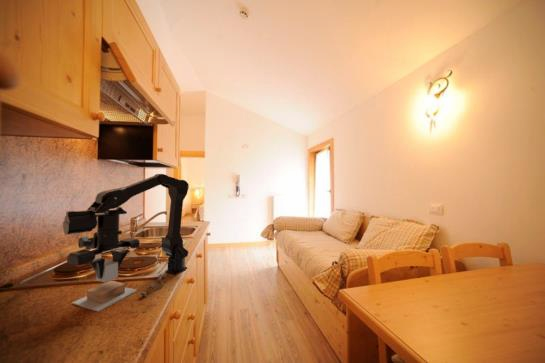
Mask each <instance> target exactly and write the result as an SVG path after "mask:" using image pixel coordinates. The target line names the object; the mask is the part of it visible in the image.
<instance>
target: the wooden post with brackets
mask: <svg viewBox="0 0 545 363" xmlns="http://www.w3.org/2000/svg"><path fill="white" fill-rule="evenodd" d="M162 279H163V275H162V274H160V275H158V276H156V278H155V279H154V281H152V282H151V284H150V285H149V287H148V288H146V289H145V290H144V291H141V292H140V294H141V297H146V298H147V297H148V293H149V292H150V291H151V290H152V289H153V288H154V291H158V290H159V289H161V286H164V282H163V280H162ZM158 283H159V284H158ZM157 284H158V285H157ZM155 286H156V287H155Z"/></svg>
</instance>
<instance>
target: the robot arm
mask: <svg viewBox="0 0 545 363" xmlns="http://www.w3.org/2000/svg"><path fill="white" fill-rule="evenodd" d="M159 186H161V187H164V188H166V189H167V191H168V195H169V198H170V207H169V217H168V229H167V234H166V235H165V236H164V237H161V244H160V248H161V250H162V252H163V253H164V255H166V257H168V260H167V261H168V262H167V269H166V270H164V272H165V273H168V274H173V275H178V274H180V273H182V272H184V271H186V270H188V267H187V266H185V265H186V264H185V261H186V260H185V259H186V258H187V257H188V256H189V255H188V254H189V251H188V250H187V249H186V248H185V247H184V239H183V237H182V234H181V229H182V227H181V226H182V216H183V205H184V200H185V198H186V196H188V191H189V188H190V187H189V186H190V184H189V183H188V182H187V180H185V179H179V178H175V177H172V176H169V175H167V174H165V173H156V174H154V175H152V176H150V177H148V178H145V179H142V180H140V181H137V182H134V183H132V184H129V185H127V186H124V187H119V188H118V187H117V188H112V189H108V190H107V189H106V190H103V191H100V192H98V193H97V194H96V195H95V196H96V197H95V201H93V202H92V203H91V205H90V206H89V207H88V208H87V209H85V210H77V211H76V210H67V211H66V212H65V216H64V220H63V222H62V227H63V228H62V230H63V233H64V235H65V236H69V235H74V234H75V235H76V234H81V233H89V232H92V231H93V230H94V229H96V231H94V233H93V237H90V238H89V236H82V237H79V238H78V243H77V245H78V246H77V247H78V248H79V249H81V250H76V251H72V252H70V253H69V254H68V256H67V257H66V263H67V264H71V265H75V266H82V265H85V264H90V266H91V267H92V268H93V270H94V272H95V274H96V275H97V277H98V278H99V279H101V278H102V276H103V270H104V262H106V259H105V258H102V255H104V254H108V253H111V256H112V261H115V262H118V269H119V268H120V266H121V264H122V262H123V261H124V259H125V258H126V256H127V254H128V253H130V252H131V251H130V249H132V250H134V249H137V248H140V247H141V242H140V240H139V239H138V238H131V237H128V238H123V239H120V235H122V233H123V232H122V231H123V230H120V215H126V214H128V212H127V211H126V210H124V209H123V207H122V205H124V204H125V203H126V202H128V201H129V200H130V199H131V198H133V197H135V196H137V195H139V194H142V193H144V192H146V191H149V190H151V189H154V188H156V187H159ZM82 248H85V249H82ZM128 248H130V249H128ZM90 249H91V250H90ZM96 275H95V276H96Z"/></svg>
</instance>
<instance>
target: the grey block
mask: <svg viewBox="0 0 545 363" xmlns="http://www.w3.org/2000/svg"><path fill="white" fill-rule="evenodd" d="M95 276H96V278H95V279H96V280H95V281H97V282H102V283H106V282H108V281H113V280H114V279H116V278H118V277H119V268H118V262H115V261H113V260H108V261H105V262H104V270H103V276H102V278H101V279H99V278H98V277H97V275H95Z"/></svg>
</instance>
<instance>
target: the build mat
mask: <svg viewBox="0 0 545 363" xmlns="http://www.w3.org/2000/svg"><path fill="white" fill-rule="evenodd" d="M136 292H138V289H135V288H130V287H126V286H125V293H123V294H121V295H119V296H117V297H115V298H113V299H111V300H109V301H107V302H105V303H103V304H100V303H97V302H93V301H90V300H87V295H86V296H84V297H81V298H79V299H78V300H77V299H76V300H75V301H73V302H71V304H72V305H75V306H78V307H82V308H84V309H88V310H91V311H94V312H98V313H99V312H101V311H102V310H104V309H107V308H109V307H110V306H112V305H113V304H115V303H118V302H120V301H121V300H124V299H125V298H127V297H129V296H131V295H133V294H135V293H136Z"/></svg>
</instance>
